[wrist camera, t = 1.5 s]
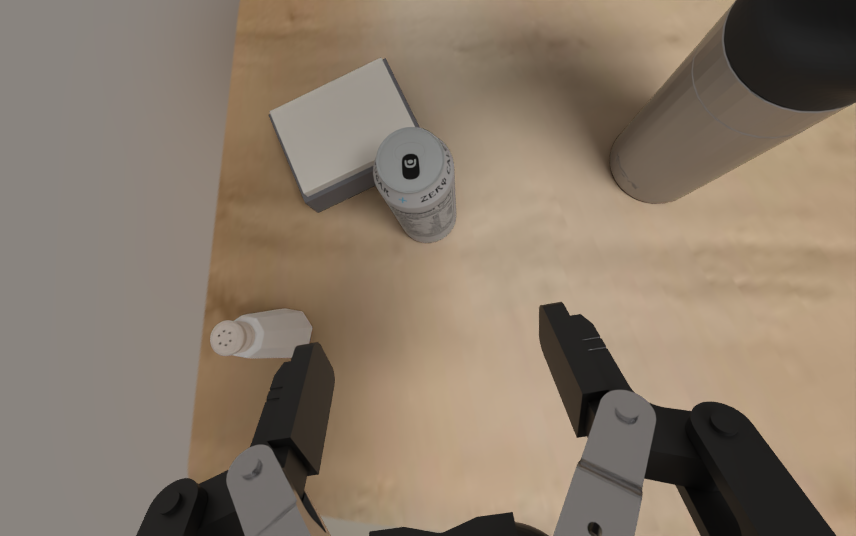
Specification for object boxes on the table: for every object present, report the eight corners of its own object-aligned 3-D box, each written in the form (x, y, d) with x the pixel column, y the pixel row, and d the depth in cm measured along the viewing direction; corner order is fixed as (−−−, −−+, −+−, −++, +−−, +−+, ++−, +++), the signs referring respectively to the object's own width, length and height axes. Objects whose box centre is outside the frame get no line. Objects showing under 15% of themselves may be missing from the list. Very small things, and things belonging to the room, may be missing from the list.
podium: (391, 79, 43) (383, 51, 38) (430, 159, 41) (427, 140, 37) (283, 131, 43) (263, 109, 39) (318, 212, 41) (301, 200, 37)
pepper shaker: (261, 313, 40) (188, 312, 30) (308, 302, 40) (252, 296, 29) (269, 363, 40) (197, 380, 29) (317, 352, 39) (262, 365, 28)
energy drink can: (453, 188, 40) (449, 113, 26) (458, 242, 40) (457, 196, 25) (399, 194, 41) (365, 123, 26) (403, 247, 40) (369, 205, 25)
